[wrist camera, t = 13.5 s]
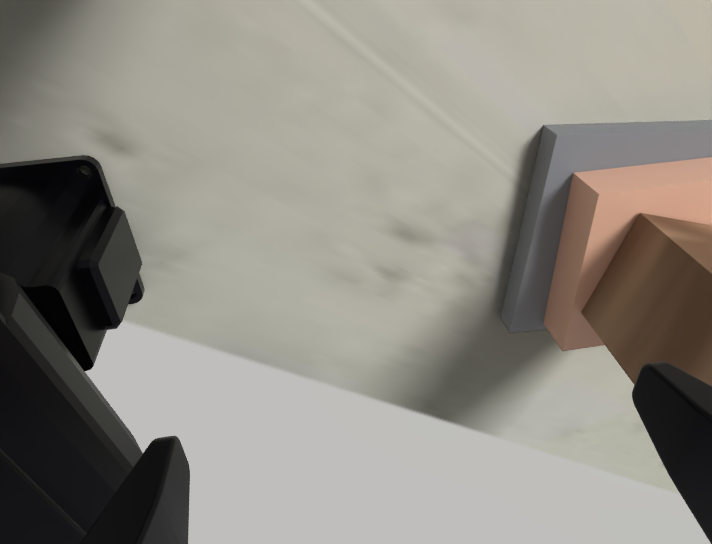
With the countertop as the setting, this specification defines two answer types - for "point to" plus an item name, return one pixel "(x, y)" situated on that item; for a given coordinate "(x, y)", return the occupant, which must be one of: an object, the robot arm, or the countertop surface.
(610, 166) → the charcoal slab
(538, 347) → the countertop surface
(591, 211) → the terracotta tile
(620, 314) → the walnut pillar
